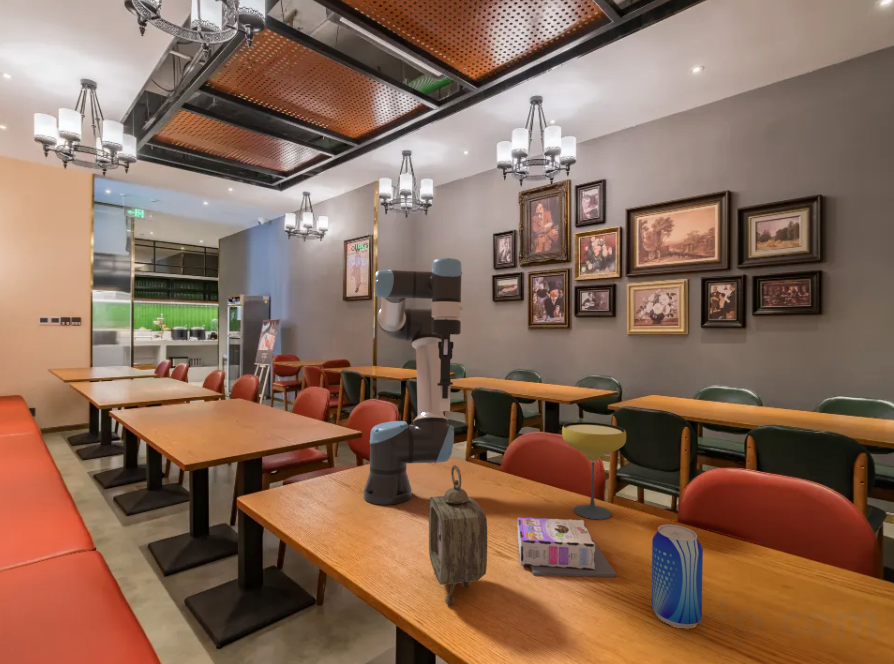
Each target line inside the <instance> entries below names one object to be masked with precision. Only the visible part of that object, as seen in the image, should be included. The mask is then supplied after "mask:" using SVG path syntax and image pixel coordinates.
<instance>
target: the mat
mask: <svg viewBox="0 0 894 664" xmlns="http://www.w3.org/2000/svg"><path fill="white" fill-rule="evenodd" d="M593 543H594V544H595V570H594V569H579V568H563V567H548V566H529V567H530V569H531V572H532V575H533V576H552V577H553V576H557V577H559V576H560V577H562V576H563V577H603V578H604V577H607V578H610V577H611V578H612V577H614V578H615V577H616V578H617V573H616V571H615V570H614V568H613V567H612V566H611V564H610V563H609V561H608V559H607V558H606V557H605V556H604V554H603V552H601V549H600V548H599V547H598V546H597V544H596V542H595V541H594V540H593Z"/></svg>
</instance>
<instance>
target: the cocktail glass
mask: <svg viewBox="0 0 894 664" xmlns="http://www.w3.org/2000/svg"><path fill="white" fill-rule="evenodd" d="M561 436H562V439H563V440H564V442H565V443H566V444H567V445H568V446H570V447H572V448H573V449H575V450H576V451H578V452H579V453H581V454H583V455H584V456H585V457H586V459H587V460H588V461H589V462H590V463H591V490H590V491H591V492H590V493H591V494H590V503H589V504H580V505H576V506H574V507H575V508H574V507H573V512H574V513H575V514H576V513H577V514H578V515H577V514H576V515H577V516H579V515H580V516H579V517H581V516H583V517H582V518H584V517H585V518H584V519H588V518H590V519H589V520H594V519H603V520H607V518H608V519H610V518H612V514H611V513H612V512H611V511H610V510H609V509H608V508H606V507H603V506H599V505H596V503H595V463H597V462H598V461H599V460H600V458H602V456H605V455H608V454H610V453H614V452H615V451H618V450H620V449H621V448H622V447H624V445H626V441H627V431H626V430H625V429H624V428H622V427H621V426H617V425H614V424H607V423H601V422H587V421H580V422H579V421H577V422H569V423H565V424H563V426H562V429H561ZM609 517H610V518H609Z"/></svg>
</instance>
